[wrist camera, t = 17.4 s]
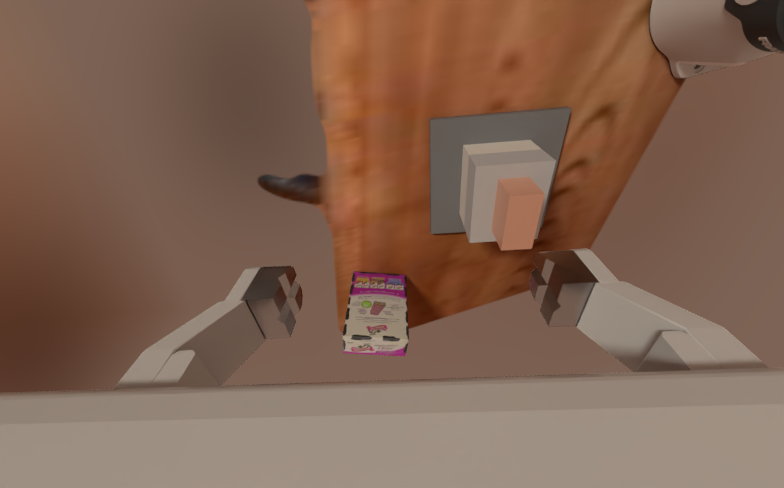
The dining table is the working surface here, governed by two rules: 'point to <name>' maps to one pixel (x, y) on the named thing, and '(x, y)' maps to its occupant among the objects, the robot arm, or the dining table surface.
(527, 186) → the terracotta brick
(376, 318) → the candy bar box
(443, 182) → the white stack on tray
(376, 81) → the dining table surface
